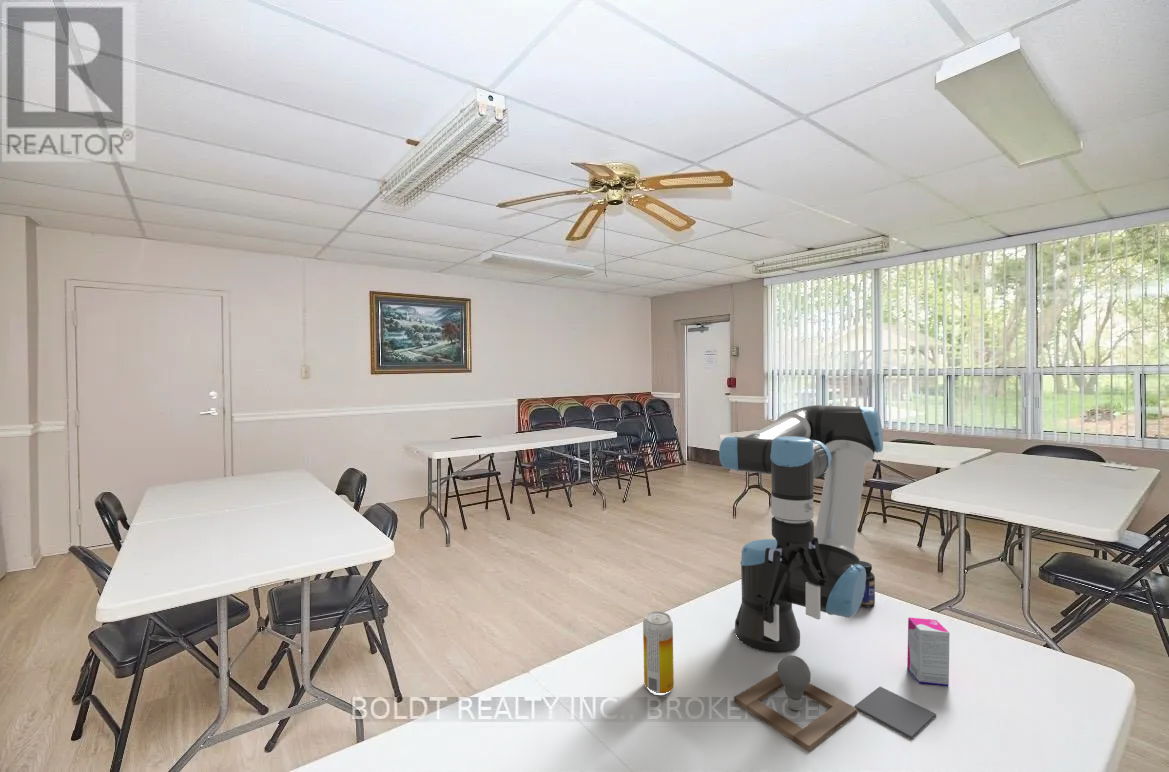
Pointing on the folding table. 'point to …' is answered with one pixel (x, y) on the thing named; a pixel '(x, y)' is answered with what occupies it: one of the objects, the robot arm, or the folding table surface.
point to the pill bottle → (868, 586)
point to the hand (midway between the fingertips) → (793, 627)
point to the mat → (895, 712)
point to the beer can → (658, 652)
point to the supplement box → (928, 652)
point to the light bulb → (794, 679)
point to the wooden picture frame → (802, 736)
